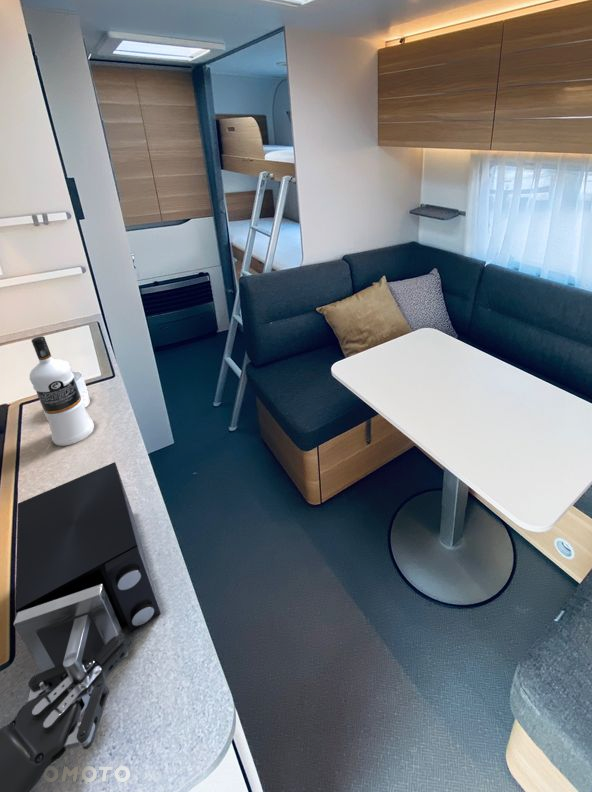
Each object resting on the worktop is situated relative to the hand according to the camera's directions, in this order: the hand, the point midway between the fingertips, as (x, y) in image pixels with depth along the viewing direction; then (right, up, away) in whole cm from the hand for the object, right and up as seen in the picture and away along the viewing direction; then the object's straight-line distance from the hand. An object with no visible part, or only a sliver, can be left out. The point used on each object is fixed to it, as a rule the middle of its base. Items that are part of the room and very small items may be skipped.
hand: (125, 639), depth 60 cm
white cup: (-52, +16, +62) cm, 83 cm away
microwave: (-13, -3, +14) cm, 19 cm away
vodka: (-45, +12, +51) cm, 69 cm away
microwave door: (-6, -8, +1) cm, 10 cm away
